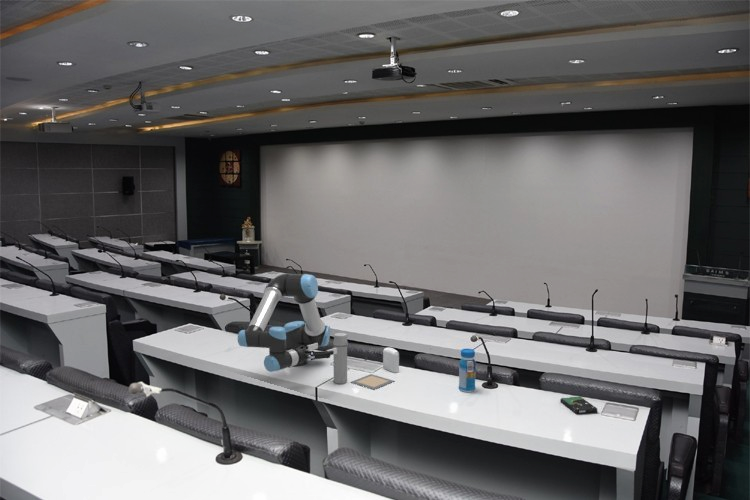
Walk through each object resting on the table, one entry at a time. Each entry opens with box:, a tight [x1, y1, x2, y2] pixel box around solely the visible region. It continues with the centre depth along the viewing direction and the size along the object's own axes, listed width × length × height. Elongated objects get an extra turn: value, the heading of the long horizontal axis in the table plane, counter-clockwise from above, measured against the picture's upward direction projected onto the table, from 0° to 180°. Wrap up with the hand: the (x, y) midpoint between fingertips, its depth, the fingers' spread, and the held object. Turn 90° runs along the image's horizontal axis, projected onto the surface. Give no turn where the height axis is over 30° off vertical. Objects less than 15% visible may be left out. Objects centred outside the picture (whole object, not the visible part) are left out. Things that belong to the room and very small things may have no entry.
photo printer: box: [382, 347, 400, 373], centre depth 301 cm, size 10×4×12 cm, turn 39°
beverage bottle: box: [458, 348, 477, 393], centre depth 271 cm, size 8×8×20 cm
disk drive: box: [560, 396, 598, 415], centre depth 250 cm, size 10×3×15 cm
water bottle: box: [332, 332, 349, 385], centre depth 282 cm, size 9×8×25 cm
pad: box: [350, 373, 395, 391], centre depth 282 cm, size 16×16×1 cm
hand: (326, 348), depth 273 cm, fingers open, 13 cm apart
